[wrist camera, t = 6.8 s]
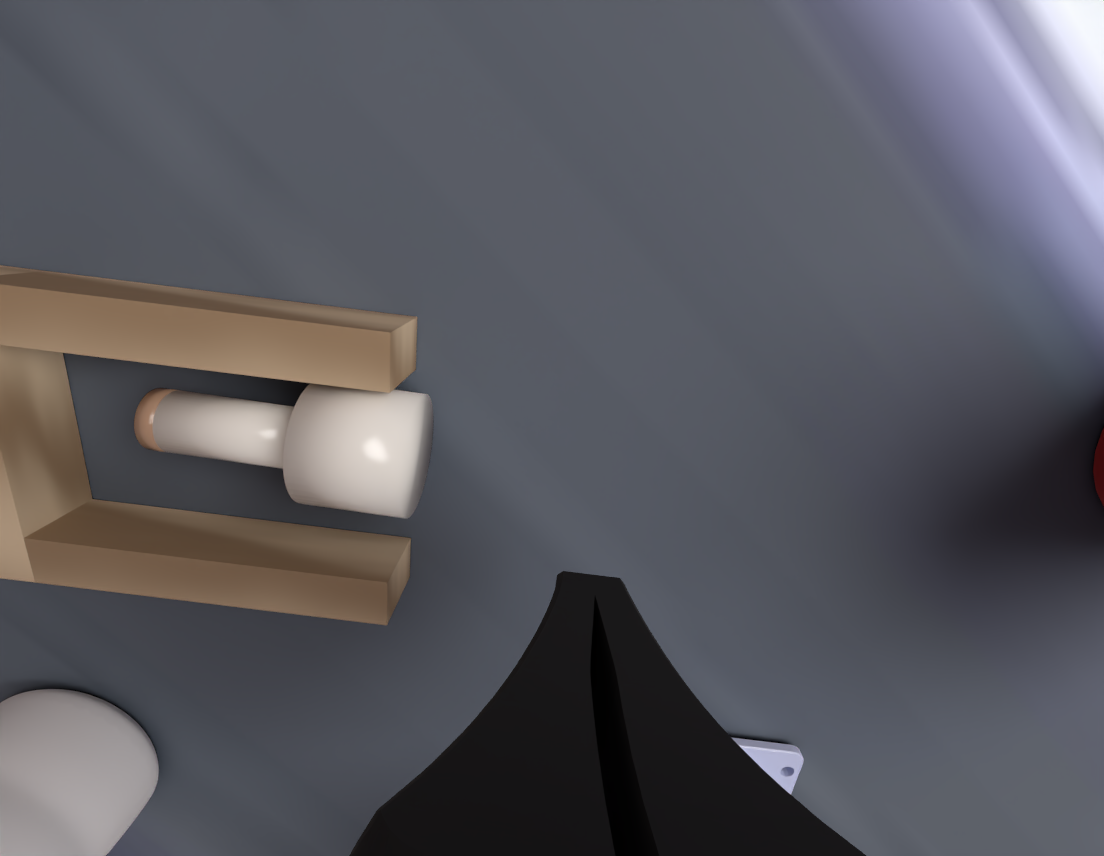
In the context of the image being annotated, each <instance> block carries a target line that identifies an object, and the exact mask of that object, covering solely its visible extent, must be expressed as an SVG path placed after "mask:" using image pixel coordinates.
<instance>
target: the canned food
mask: <svg viewBox="0 0 1104 856" xmlns="http://www.w3.org/2000/svg"><path fill="white" fill-rule="evenodd" d="M1093 474H1094V481H1095V488H1096V491H1097V494H1098V496H1099V498H1100V500H1101V502H1102V504H1103V506H1104V428H1103V430H1102V433H1101V436H1100V439H1099V442H1098V445H1097V447H1096V450H1095V458H1094V467H1093Z"/></svg>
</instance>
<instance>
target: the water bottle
mask: <svg viewBox="0 0 1104 856" xmlns="http://www.w3.org/2000/svg"><path fill="white" fill-rule="evenodd" d="M158 775H159V765H158V759H157V755H156V751H155V749H154V746H153V744H152V742H151V740H150V738H149V737H148V735H147V734H146V732H145V731H144V730H143V729H142V728H141V726H140V725H139V724H138V723H137V722H136V721H135V720H134V719H132V718H131V717H130V716H129V715H128V714H127V713H125V712H124V711H122V710H121V709H119V708H118V707H116V706H114V705H113V704H111V703H109V702H107V701H105V700H103V699H100V698H97V697H95V696H92V695H89V694H86V693H82V692H77V691H72V690H64V689H41V690H33V691H28V692H23V693H20V694H17V695H14V696H12V697H10V698H8V699H6V700H4V701H2V702H1V703H0V856H106V855H107V854H108V853H109V851H110V850H111V849H112V848H113V847H114V845H115V844H116V843H117V842H118V841H119V839H120V838H121V837H122V836H123V834H124V833H125V832H126V830H127V829H128V828H129V827H130V825H131V824H132V823H133V821H134V820H135V819H136V817H137V816H138V815H139V813H140V812H141V811H142V809H143V808H144V807H145V805H146V804H147V802H148V801H149V799H150V798H151V796H152V794H153V792H154V790H155V788H156V785H157V782H158Z"/></svg>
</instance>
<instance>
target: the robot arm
mask: <svg viewBox="0 0 1104 856" xmlns="http://www.w3.org/2000/svg"><path fill="white" fill-rule="evenodd" d="M803 760H804V759H803V757H802V754H801V752H800V750H799V748H797V747H796V746H793V745H790V744H781V743H773V742H765V741H757V740H748V739H740V738H732V737H730V736H729V735H728V734H727V733H726V732H725V730H724V729H723V728H722V727H721V726H720V725H719V724H718V723H717V722H716V720H715V719H714V718H713V717H712V716H711V715H710V713H709V712H708V711H707V710H706V709H705V708H704V706H703V705H702V704H701V703H700V701H699V700H698V699H697V698H696V696H695V695H694V694H693V693H692V691H691V690H690V689H689V687H688V686H687V685H686V683H685V682H684V681H683V679H682V678H681V676H680V675H679V674H678V672H677V671H676V670H675V668H674V667H673V665H672V664H671V662H670V661H669V660H668V658H667V657H666V655H665V654H664V652H663V651H662V649H661V647H660V646H659V644H658V643H657V641H656V640H655V638H654V636H653V635H652V633H651V632H650V630H649V628H648V627H647V625H646V623H645V622H644V620H643V618H642V616H641V615H640V613H639V611H638V609H637V608H636V606H635V604H634V602H633V600H632V598H631V597H630V595H629V593H628V591H627V589H626V587H625V585H624V583H623V582H622V580H621V579H620V578H615V577H606V576H598V575H590V574H582V573H574V572H566V571H563V572H561V573H560V574H558V575H557V580H556V587H555V591H554V594H553V597H552V599H551V602H550V604H549V607H548V609H547V611H546V613H545V615H544V618H543V620H542V622H541V624H540V626H539V628H538V630H537V632H536V633H535V635H534V637H533V639H532V640H531V642H530V644H529V645H528V647H527V649H526V650H525V652H524V654H523V655H522V657H521V659H520V660H519V662H518V663H517V665H516V666H515V668H514V669H513V671H512V672H511V674H510V675H509V677H508V678H507V679H506V681H505V682H504V683H503V685H502V686H501V687H500V689H499V690H498V691H497V693H496V694H495V695H494V697H493V698H492V699H491V700H490V701H489V703H488V704H487V705H486V706H485V707H484V709H483V710H482V711H481V712H480V713H479V715H478V716H477V717H476V718H475V719H474V721H473V722H472V723H471V724H470V725H469V726H468V727H467V728H466V729H465V730H464V732H463V733H462V734H461V735H460V736H459V737H458V738H457V739H456V740H455V741H454V742H453V743H452V744H451V745H450V746H449V747H448V748H447V749H446V750H445V751H444V752H443V753H442V754H441V755H440V756H439V757H438V758H437V759H436V760H435V761H434V762H433V763H432V764H431V765H429V766H428V767H427V768H426V769H425V770H424V771H423V772H422V773H421V774H420V775H418V776H417V777H416V778H415V779H414V780H412V781H411V782H410V783H409V784H408V785H406V786H405V787H404V788H403V789H402V790H401V791H399V792H398V793H397V794H396V795H395V796H393V797H392V798H391V799H390V800H389V801H387V802H386V803H385V804H384V805H383V806H381V807H380V808H379V809H378V810H377V811H376V813H375V814H374V816H373V818H372V819H371V821H370V822H369V824H368V826H367V827H366V829H365V830H364V832H363V834H362V835H361V837H360V838H359V840H358V842H357V843H356V845H355V847H354V849H353V850H352V852H351V854H350V856H866V855H865V854H863V853H862V852H861V851H860V850H858V849H857V848H856V847H854V846H853V845H852V844H850V843H849V842H848V841H847V840H845V839H844V838H843V837H841V836H840V835H839V834H838V833H836V832H835V831H834V830H832V829H831V828H830V827H828V826H827V825H826V824H825V823H823V822H822V821H821V820H820V819H818V818H817V817H816V816H815V815H814V814H812V813H811V812H810V811H809V810H808V809H807V808H805V807H804V806H803V805H802V804H801V803H800V802H799V801H797V800H796V799H795V798H794V797H793V796H792V795H791V793H792V790H793V788H794V785H795V783H796V780H797V777H798V775H799V772H800V770H801V767H802V765H803Z"/></svg>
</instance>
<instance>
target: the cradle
mask: <svg viewBox="0 0 1104 856" xmlns="http://www.w3.org/2000/svg"><path fill="white" fill-rule="evenodd" d="M416 342H417V317H414V316H405V315H397V314H389V313H381V312H373V311H365V310H357V309H349V308H341V307H333V306H325V305H317V304H309V303H300V302H292V301H284V300H276V299H268V298H260V297H252V296H244V295H236V294H228V293H220V292H212V291H204V290H195V289H187V288H179V287H171V286H163V285H155V284H147V283H139V282H131V281H123V280H115V279H107V278H99V277H90V276H82V275H74V274H66V273H58V272H50V271H42V270H34V269H26V268H18V267H10V266H2V265H0V578H3V579H11V580H19V581H27V582H36V583H44V584H52V585H60V586H68V587H77V588H85V589H93V590H101V591H109V592H118V593H126V594H134V595H142V596H151V597H159V598H167V599H175V600H183V601H192V602H200V603H208V604H216V605H224V606H233V607H241V608H249V609H257V610H265V611H274V612H282V613H290V614H298V615H306V616H315V617H323V618H331V619H339V620H347V621H356V622H364V623H372V624H380V625H387V624H388V622H389V620H390V618H391V615H392V613H393V611H394V609H395V607H396V605H397V603H398V601H399V598H400V596H401V594H402V592H403V590H404V588H405V586H406V584H407V581H408V579H409V577H410V548H411V538H406V537H398V536H390V535H382V534H374V533H365V532H357V531H349V530H341V529H333V528H325V527H316V526H308V525H300V524H292V523H284V522H276V521H267V520H259V519H251V518H243V517H235V516H227V515H218V514H210V513H202V512H194V511H186V510H178V509H169V508H161V507H153V506H145V505H137V504H128V503H120V502H112V501H104V500H96V499H92V494H91V489H90V485H89V480H88V475H87V470H86V465H85V460H84V455H83V450H82V445H81V440H80V435H79V430H78V425H77V420H76V415H75V411H74V406H73V401H72V396H71V391H70V386H69V381H68V376H67V371H66V366H65V361H64V356H63V353H70V354H78V355H86V356H94V357H102V358H110V359H118V360H127V361H135V362H143V363H151V364H159V365H167V366H175V367H183V368H191V369H199V370H208V371H216V372H224V373H232V374H240V375H248V376H256V377H264V378H272V379H281V380H289V381H297V382H305V383H313V384H321V385H329V386H337V387H345V388H354V389H362V390H370V391H378V392H386V393H390V392H391V391H392V390H393V389H395V388H396V387H397V386H398V385H399V384H400V383H401V382H402V381H403V380H405V379H406V378H407V377H408V376H409V375H410V374H411V373H412V372H413V371H414V370H416Z"/></svg>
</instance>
